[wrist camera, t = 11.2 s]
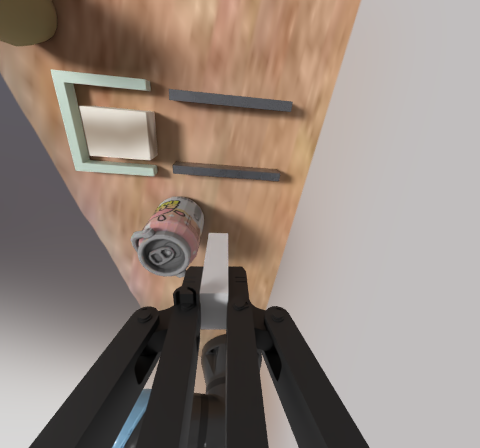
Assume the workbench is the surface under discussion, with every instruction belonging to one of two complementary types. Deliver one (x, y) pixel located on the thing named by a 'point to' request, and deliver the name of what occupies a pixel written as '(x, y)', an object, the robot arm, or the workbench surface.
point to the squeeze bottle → (27, 21)
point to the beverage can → (170, 237)
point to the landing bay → (74, 123)
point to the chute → (225, 169)
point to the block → (120, 132)
